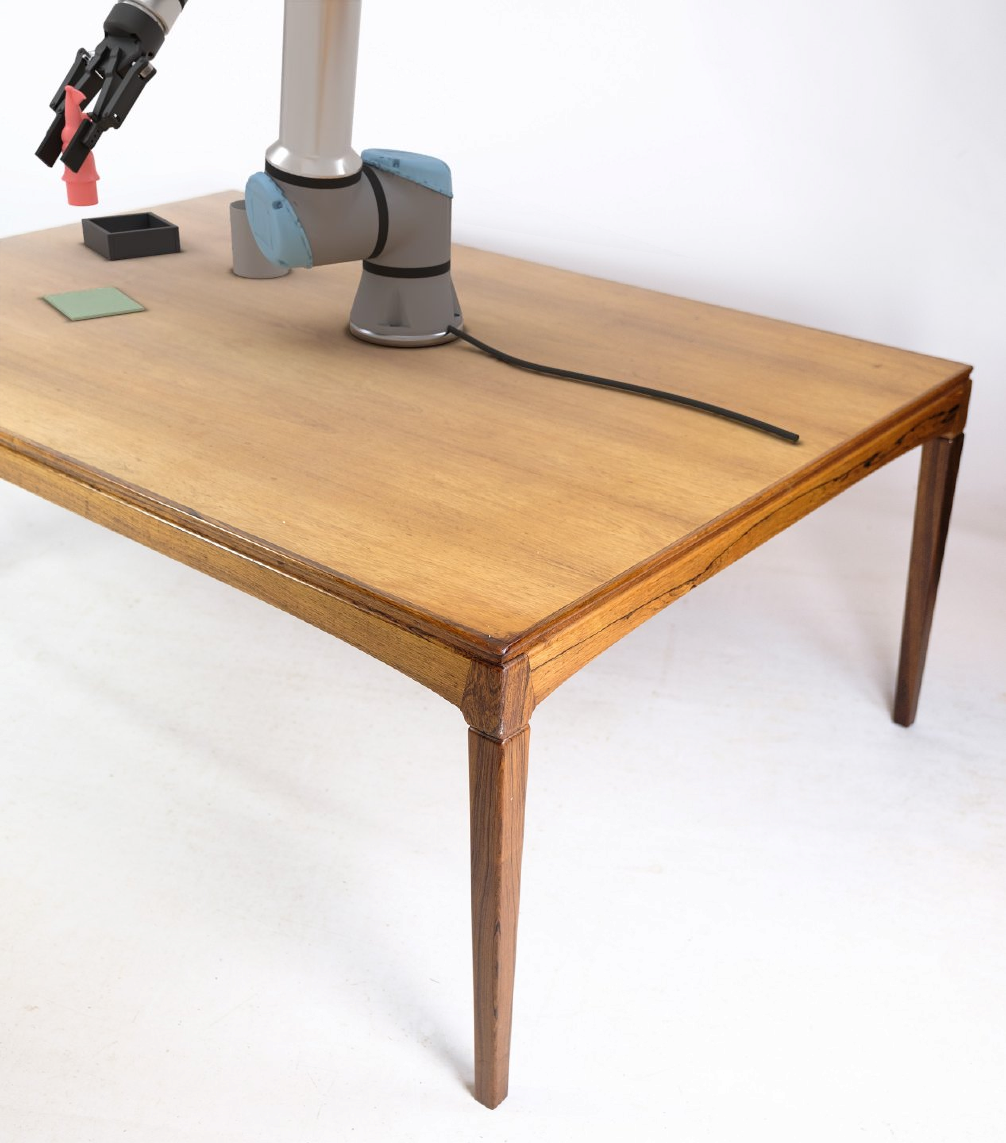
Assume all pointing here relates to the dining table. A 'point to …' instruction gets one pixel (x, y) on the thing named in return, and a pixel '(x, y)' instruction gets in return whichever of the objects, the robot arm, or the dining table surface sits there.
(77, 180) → the figurine
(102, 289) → the mat
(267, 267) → the cup
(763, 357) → the dining table surface
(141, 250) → the box
